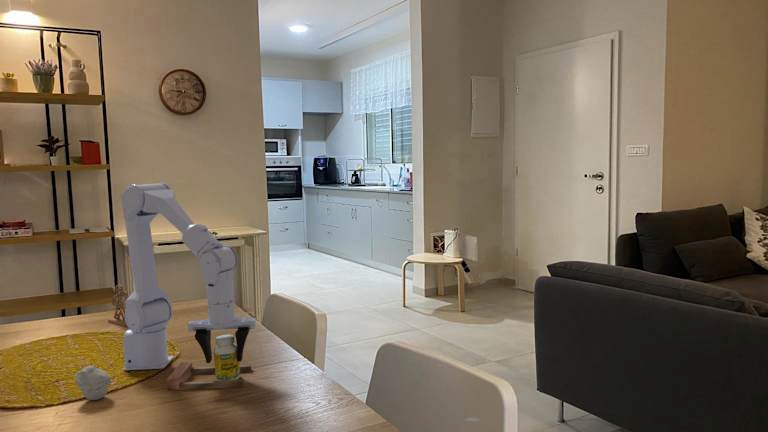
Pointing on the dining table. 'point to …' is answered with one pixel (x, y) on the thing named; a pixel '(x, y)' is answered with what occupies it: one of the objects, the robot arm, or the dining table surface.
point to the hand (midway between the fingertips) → (224, 360)
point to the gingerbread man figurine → (118, 319)
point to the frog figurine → (93, 382)
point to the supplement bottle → (226, 358)
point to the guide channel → (185, 370)
